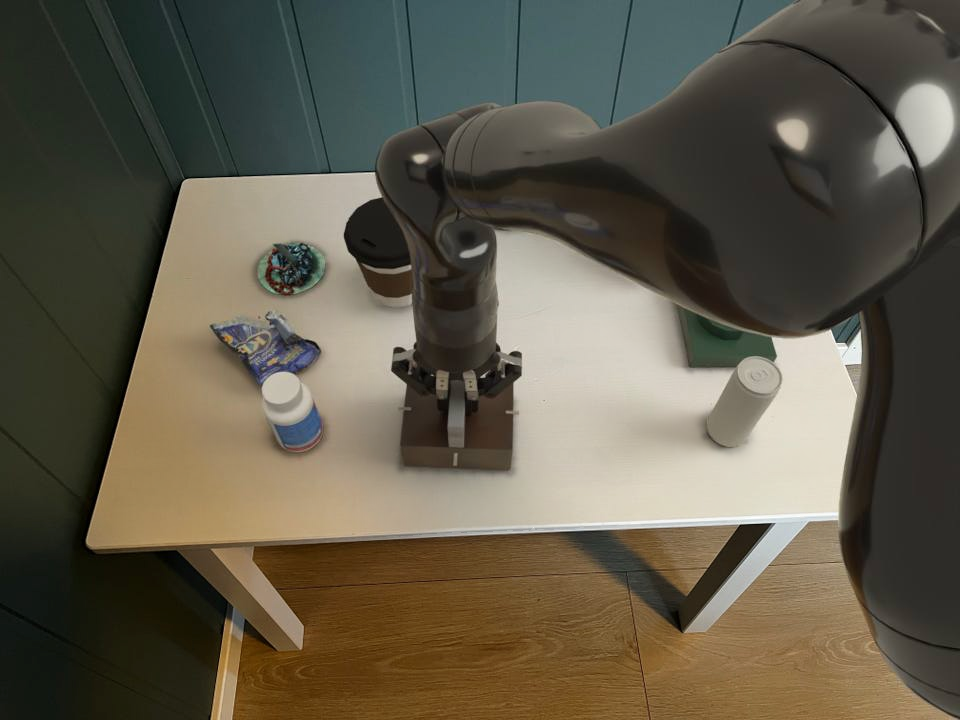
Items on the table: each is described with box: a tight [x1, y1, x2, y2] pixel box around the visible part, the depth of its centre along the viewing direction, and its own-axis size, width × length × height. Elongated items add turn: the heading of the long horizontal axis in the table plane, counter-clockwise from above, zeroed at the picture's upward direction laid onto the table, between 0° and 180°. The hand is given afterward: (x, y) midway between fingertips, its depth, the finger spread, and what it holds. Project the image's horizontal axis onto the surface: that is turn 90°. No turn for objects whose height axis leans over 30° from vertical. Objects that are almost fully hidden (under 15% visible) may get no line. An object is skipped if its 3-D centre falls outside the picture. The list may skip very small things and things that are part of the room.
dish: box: [257, 241, 326, 296], centre depth 97 cm, size 8×7×8 cm
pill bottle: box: [261, 372, 324, 453], centre depth 80 cm, size 6×5×10 cm
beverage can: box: [706, 356, 784, 448], centre depth 79 cm, size 5×5×12 cm
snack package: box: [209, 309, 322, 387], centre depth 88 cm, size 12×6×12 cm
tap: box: [447, 380, 465, 448], centre depth 78 cm, size 9×2×5 cm, turn 178°
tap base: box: [397, 376, 520, 471], centre depth 82 cm, size 13×13×5 cm
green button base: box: [676, 304, 778, 368], centre depth 91 cm, size 12×10×4 cm
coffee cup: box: [343, 196, 413, 309], centre depth 91 cm, size 11×11×12 cm
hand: (458, 408), depth 79 cm, fingers closed on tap
